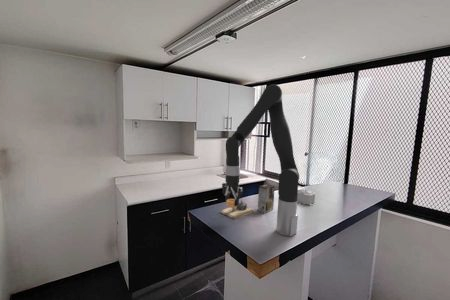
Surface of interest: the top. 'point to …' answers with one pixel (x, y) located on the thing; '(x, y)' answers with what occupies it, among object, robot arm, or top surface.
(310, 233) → the top surface
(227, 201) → the gear
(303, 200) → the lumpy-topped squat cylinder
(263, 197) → the coffee box
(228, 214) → the gear board
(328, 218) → the top surface
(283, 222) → the robot arm
